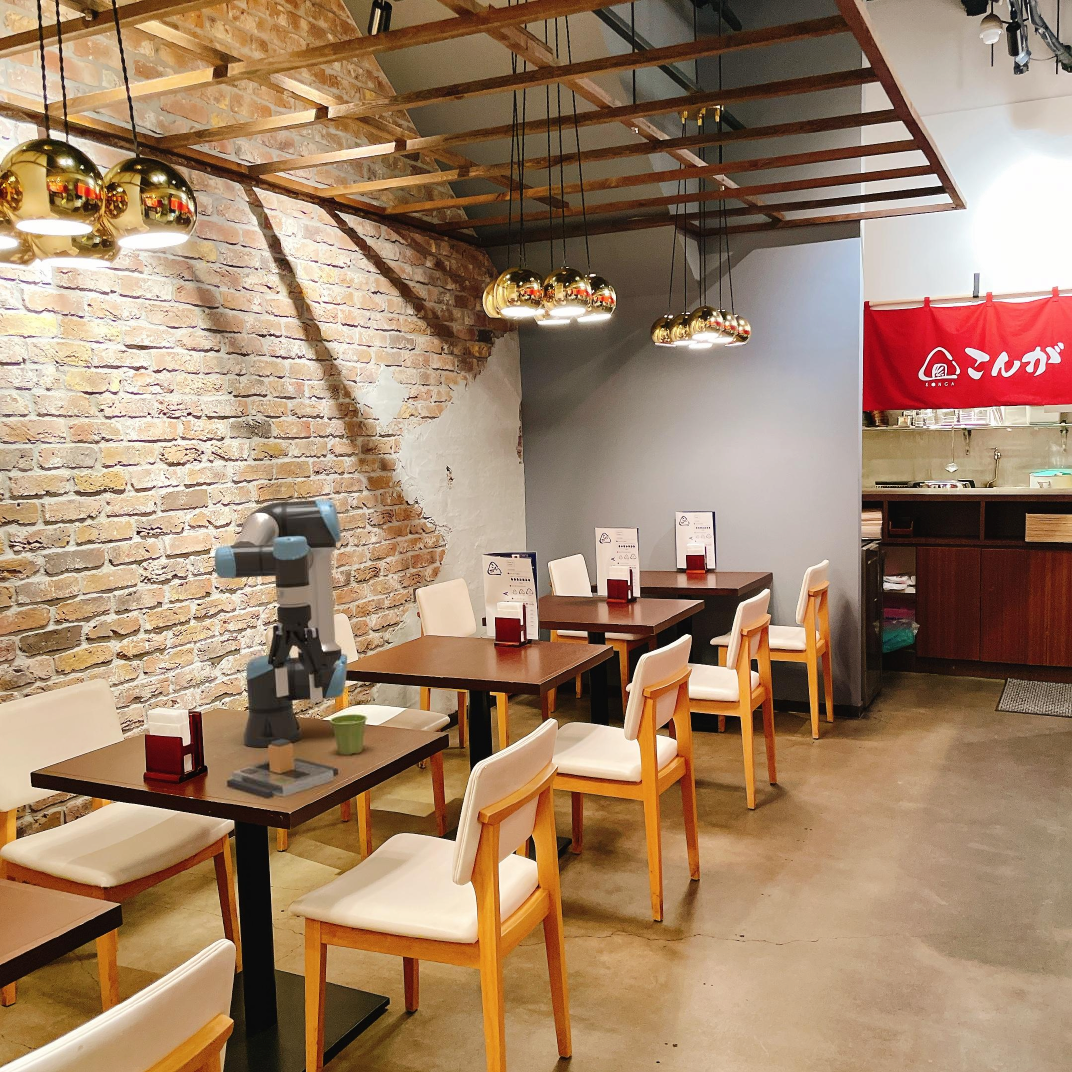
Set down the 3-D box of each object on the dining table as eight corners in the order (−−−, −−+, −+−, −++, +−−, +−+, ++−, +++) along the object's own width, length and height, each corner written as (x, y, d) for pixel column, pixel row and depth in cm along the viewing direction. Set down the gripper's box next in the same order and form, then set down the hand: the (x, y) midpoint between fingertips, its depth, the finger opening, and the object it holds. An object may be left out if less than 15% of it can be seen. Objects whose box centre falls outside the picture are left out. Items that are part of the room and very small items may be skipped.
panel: (232, 781, 236) (231, 771, 236) (282, 766, 246) (281, 756, 246) (283, 796, 223) (282, 785, 223) (333, 780, 233) (333, 769, 233)
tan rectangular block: (269, 770, 234) (268, 742, 234) (284, 766, 237) (282, 738, 237) (280, 773, 232) (278, 744, 231) (294, 769, 235) (292, 740, 234)
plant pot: (374, 747, 261) (373, 714, 260) (359, 757, 252) (357, 723, 251) (342, 746, 263) (340, 713, 263) (325, 756, 254) (323, 722, 254)
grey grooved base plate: (224, 785, 233) (224, 779, 233) (297, 763, 249) (297, 758, 249) (267, 798, 222) (267, 792, 222) (340, 774, 238) (340, 769, 238)
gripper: (248, 604, 232) (254, 696, 233) (313, 609, 216) (319, 708, 218) (275, 600, 238) (281, 690, 239) (341, 605, 222) (346, 701, 223)
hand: (299, 698), depth 228 cm, fingers open, 12 cm apart
